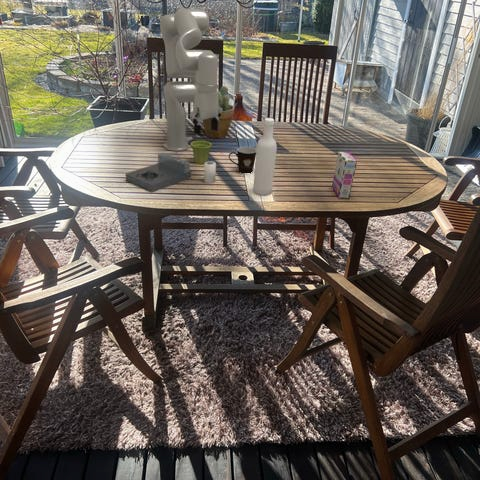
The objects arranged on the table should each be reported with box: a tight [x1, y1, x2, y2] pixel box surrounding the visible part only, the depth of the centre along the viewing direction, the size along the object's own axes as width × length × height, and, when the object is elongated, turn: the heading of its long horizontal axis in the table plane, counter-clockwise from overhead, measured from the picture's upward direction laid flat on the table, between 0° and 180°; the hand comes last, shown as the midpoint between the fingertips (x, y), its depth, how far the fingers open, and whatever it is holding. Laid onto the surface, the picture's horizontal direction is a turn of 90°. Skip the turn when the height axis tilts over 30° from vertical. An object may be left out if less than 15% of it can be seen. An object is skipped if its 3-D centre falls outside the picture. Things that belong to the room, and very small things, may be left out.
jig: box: [125, 152, 192, 193], centre depth 190 cm, size 22×16×7 cm
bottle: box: [252, 117, 278, 196], centre depth 181 cm, size 8×8×30 cm
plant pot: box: [190, 140, 212, 165], centre depth 211 cm, size 9×9×9 cm
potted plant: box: [201, 85, 235, 139], centre depth 243 cm, size 18×19×25 cm
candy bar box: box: [331, 151, 358, 199], centre depth 188 cm, size 11×5×16 cm, turn 5°
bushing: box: [203, 160, 217, 184], centre depth 192 cm, size 5×5×8 cm
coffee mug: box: [228, 146, 257, 174], centre depth 204 cm, size 12×9×10 cm
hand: (206, 132), depth 183 cm, fingers open, 9 cm apart
